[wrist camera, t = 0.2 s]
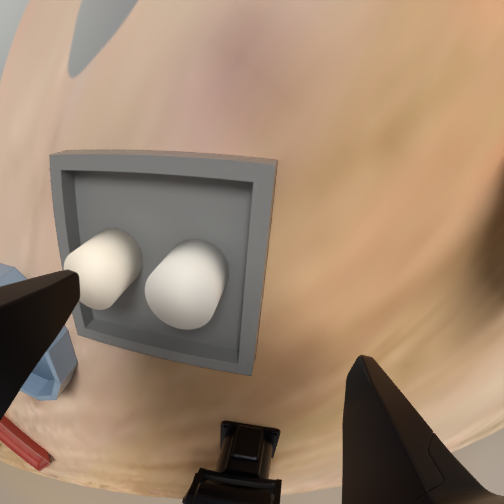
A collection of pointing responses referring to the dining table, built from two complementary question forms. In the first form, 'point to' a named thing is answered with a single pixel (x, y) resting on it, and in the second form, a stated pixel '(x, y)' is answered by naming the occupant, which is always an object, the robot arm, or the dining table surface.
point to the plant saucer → (23, 445)
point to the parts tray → (171, 242)
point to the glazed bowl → (46, 356)
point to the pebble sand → (105, 267)
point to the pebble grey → (188, 284)
